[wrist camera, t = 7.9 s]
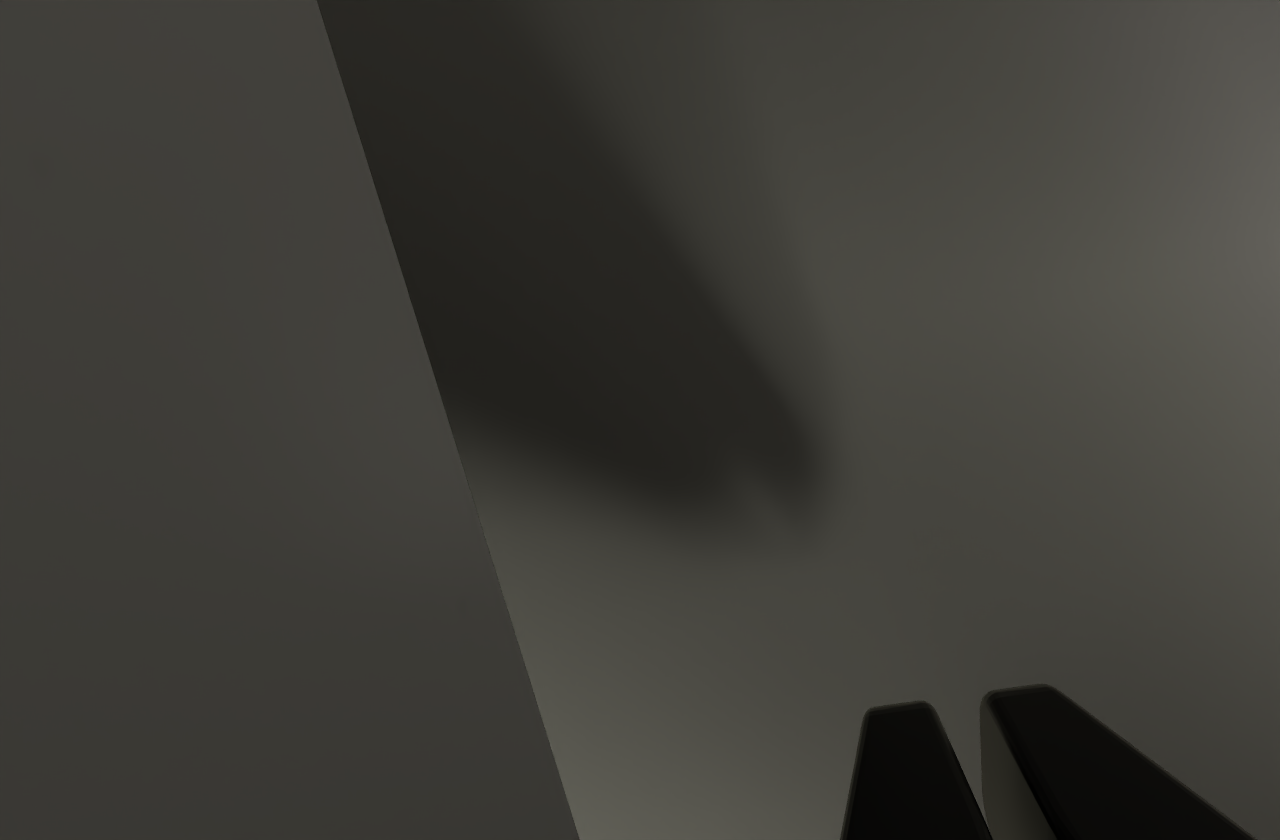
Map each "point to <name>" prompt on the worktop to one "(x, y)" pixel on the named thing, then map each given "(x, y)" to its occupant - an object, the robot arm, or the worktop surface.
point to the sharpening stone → (230, 461)
